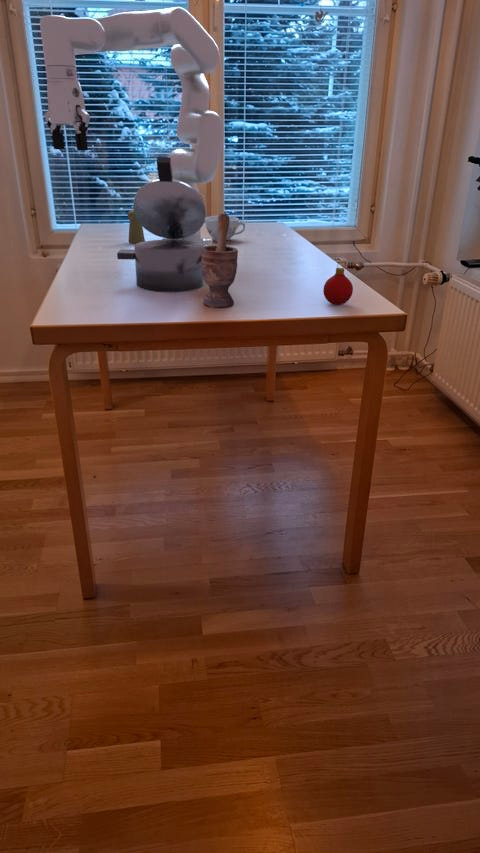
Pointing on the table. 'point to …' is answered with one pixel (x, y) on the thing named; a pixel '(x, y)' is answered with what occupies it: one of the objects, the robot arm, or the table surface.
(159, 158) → the lid
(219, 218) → the mortar and pestle
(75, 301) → the table surface
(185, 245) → the pot
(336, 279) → the christmas ornament
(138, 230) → the olive green tall piece
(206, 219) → the teacup
